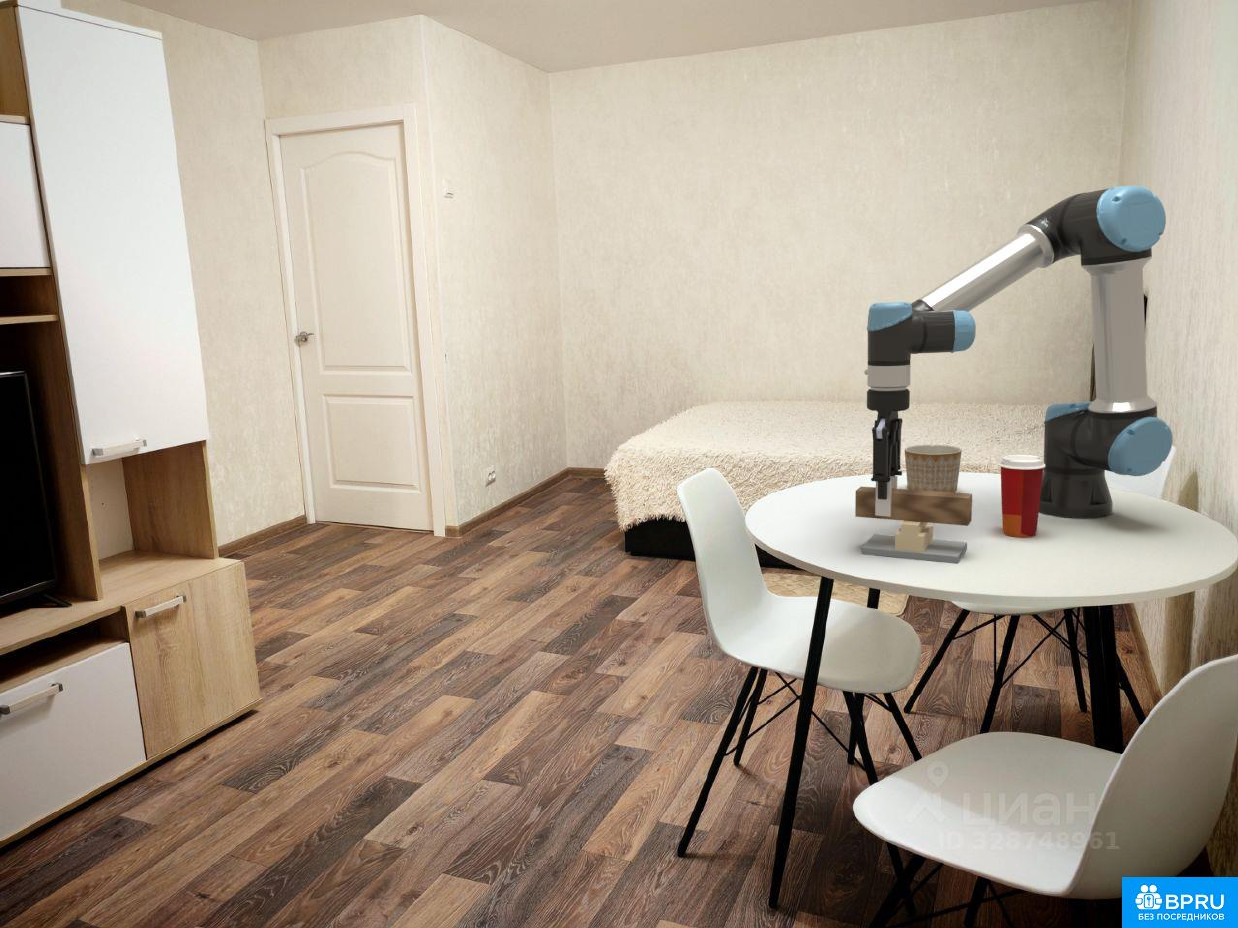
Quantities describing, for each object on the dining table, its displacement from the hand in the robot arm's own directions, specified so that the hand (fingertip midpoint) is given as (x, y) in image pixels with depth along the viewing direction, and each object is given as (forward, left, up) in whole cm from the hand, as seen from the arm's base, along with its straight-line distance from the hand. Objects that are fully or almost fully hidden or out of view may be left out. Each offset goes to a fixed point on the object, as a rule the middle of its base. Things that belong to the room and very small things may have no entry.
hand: (886, 512), depth 168 cm
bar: (-5, 0, -1) cm, 5 cm away
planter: (+1, -50, -7) cm, 51 cm away
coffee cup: (-21, -19, -7) cm, 29 cm away
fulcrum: (-5, 0, -7) cm, 9 cm away
